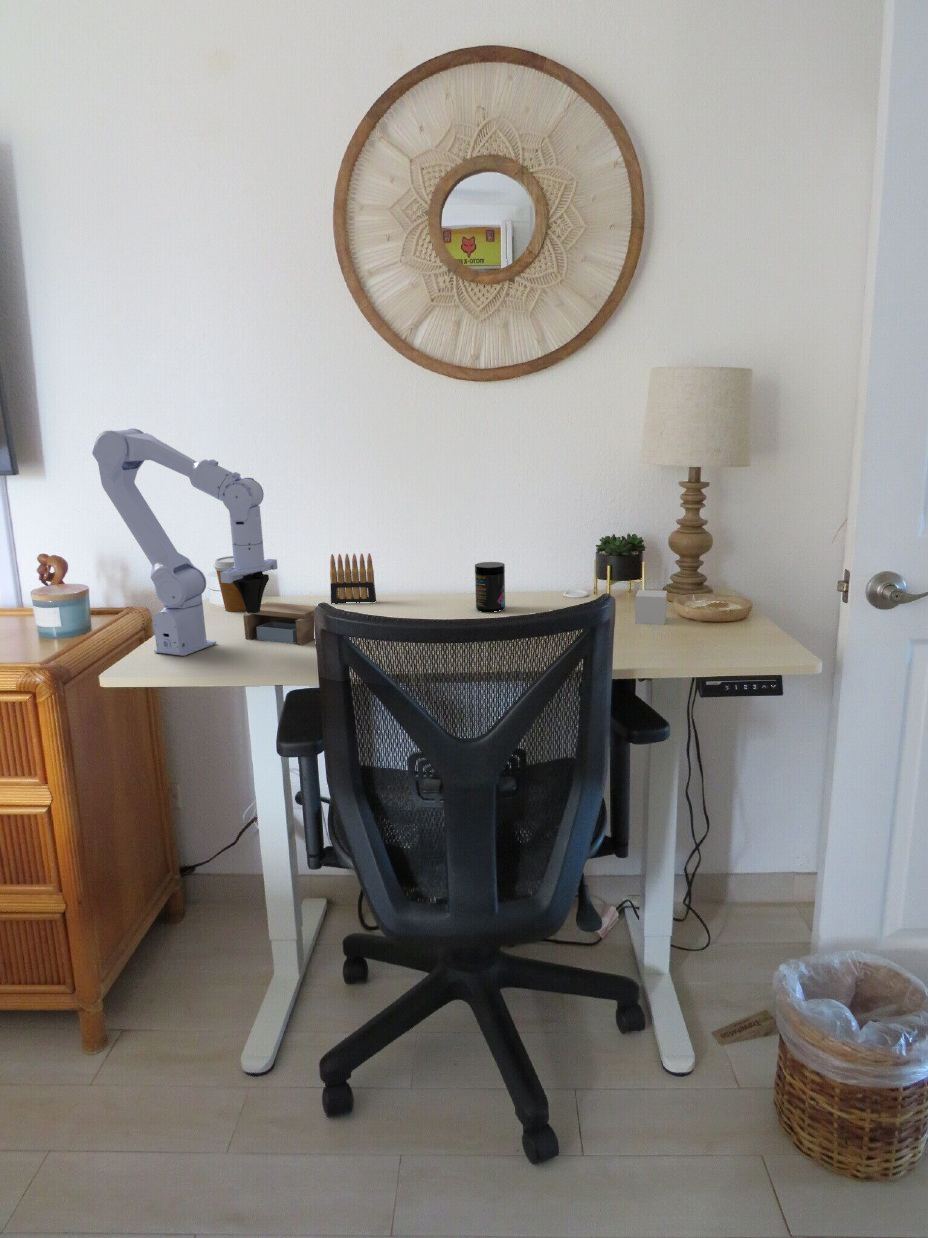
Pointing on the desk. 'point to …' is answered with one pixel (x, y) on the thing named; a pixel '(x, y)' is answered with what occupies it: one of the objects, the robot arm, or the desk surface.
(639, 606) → the grey cube
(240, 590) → the robot arm
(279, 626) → the grey tray
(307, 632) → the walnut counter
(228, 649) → the desk surface
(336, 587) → the ammunition clip
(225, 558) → the disposable coffee cup
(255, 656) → the desk surface
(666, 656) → the desk surface
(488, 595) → the supplement container
